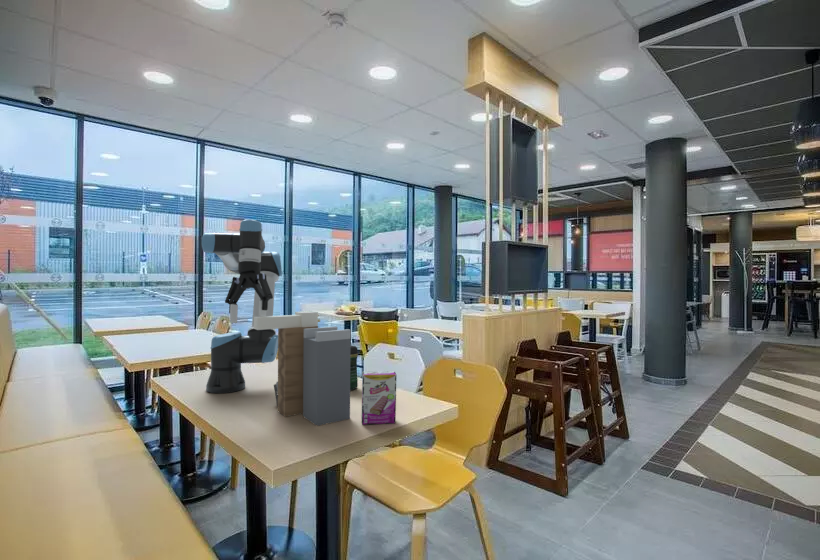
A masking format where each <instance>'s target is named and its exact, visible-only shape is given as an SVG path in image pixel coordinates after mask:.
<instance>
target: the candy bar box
mask: <svg viewBox="0 0 820 560" xmlns="http://www.w3.org/2000/svg"><path fill="white" fill-rule="evenodd" d="M361 373H362V374H361V376H362V379H361V382H362V383H361V415H360V416H361V425H364V426H365V425H387V424H388V425H389V424H396V417H397V416H396V415H397V413H396V411H397V373H396V371H393V370H389V371H385V370H384V371H362V372H361Z"/></svg>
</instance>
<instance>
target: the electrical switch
mask: <svg viewBox="0 0 820 560" xmlns="http://www.w3.org/2000/svg"><path fill="white" fill-rule="evenodd" d="M273 388H274V395H275V401H276V406H278V381H276V383H274V384H273Z"/></svg>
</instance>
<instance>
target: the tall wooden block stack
mask: <svg viewBox="0 0 820 560" xmlns="http://www.w3.org/2000/svg"><path fill="white" fill-rule="evenodd" d="M307 328H319V325H318V326H315V327H295V328H280V329H277V335H278V351H277V382H278V394H277V395H278V405H277V412H278V411H279V412H280V413H279V412H278V413H279V414H281V415H282V414H283V415H284V417H285V416H286V417H289V416H288V415H291V416H295V415H294V414H296V415H300V414H299V413H301V414H303V353H304V329H307ZM283 415H282V416H283Z"/></svg>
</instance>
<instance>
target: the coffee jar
mask: <svg viewBox="0 0 820 560" xmlns="http://www.w3.org/2000/svg"><path fill="white" fill-rule="evenodd" d="M358 356H359V350H358V347H357V346H356V345H351V347H350V391H352V390H356V389H357V388H358V386H359V385H358V384H359V383H358V381H359V379H358Z"/></svg>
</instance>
